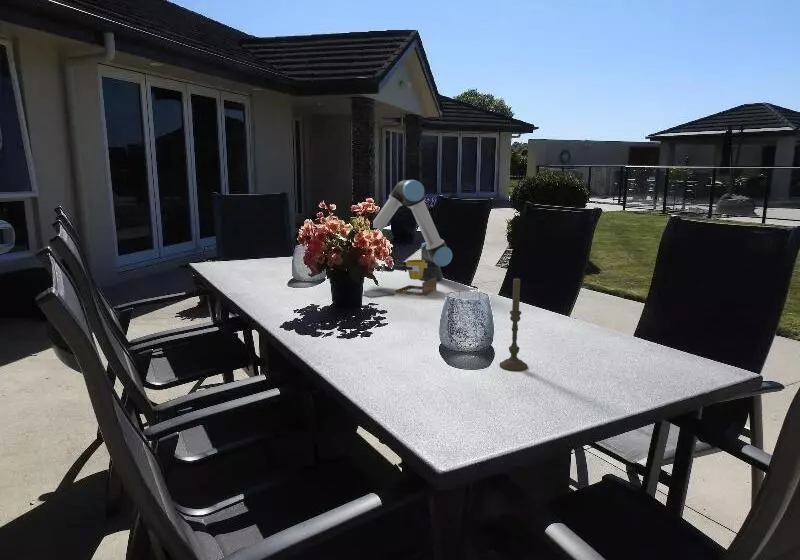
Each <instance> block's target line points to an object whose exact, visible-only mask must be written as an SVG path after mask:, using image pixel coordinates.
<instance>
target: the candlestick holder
mask: <svg viewBox="0 0 800 560" xmlns="http://www.w3.org/2000/svg"><path fill="white" fill-rule="evenodd" d="M512 280H513V281H512V306H511V308H512V309H511V310H510V311H509V314H510V315H511V316H510V317H509V319H510V321H511V322H512V325H511V326H512V327H511V331H512V333H511V334H512V335H511V336H512V337H511V340H512V343H511V345H509V346H508V350H509V353H510V356H509V358H506V359H504V360H503V361H501V362H500V363H499V367H500V368H501V369H502V370H506V371H509V372H521V371H525V370H527V369H528V367H529V366H528V364H527V363H526V362H524V361H523V360H522V359H520V358H519V357H518V354H519V352H520V350H521V349H520V347H519V346H518V343H517V339H518V332H519V324H518V322H520V321H521V315H522V311H521V310H520V293H521V279H520V278H513V279H512Z"/></svg>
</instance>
